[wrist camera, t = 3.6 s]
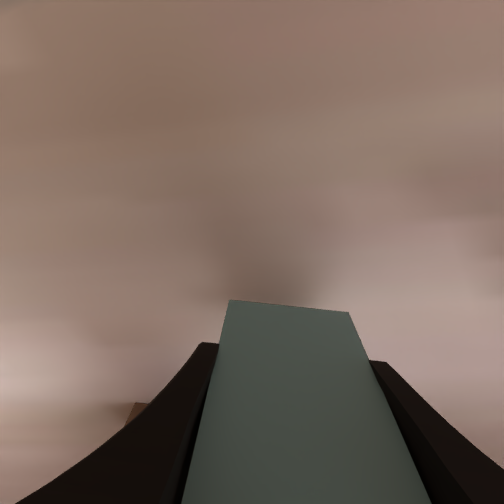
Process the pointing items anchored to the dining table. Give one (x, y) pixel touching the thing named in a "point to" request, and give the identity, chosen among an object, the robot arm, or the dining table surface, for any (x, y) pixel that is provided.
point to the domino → (297, 416)
